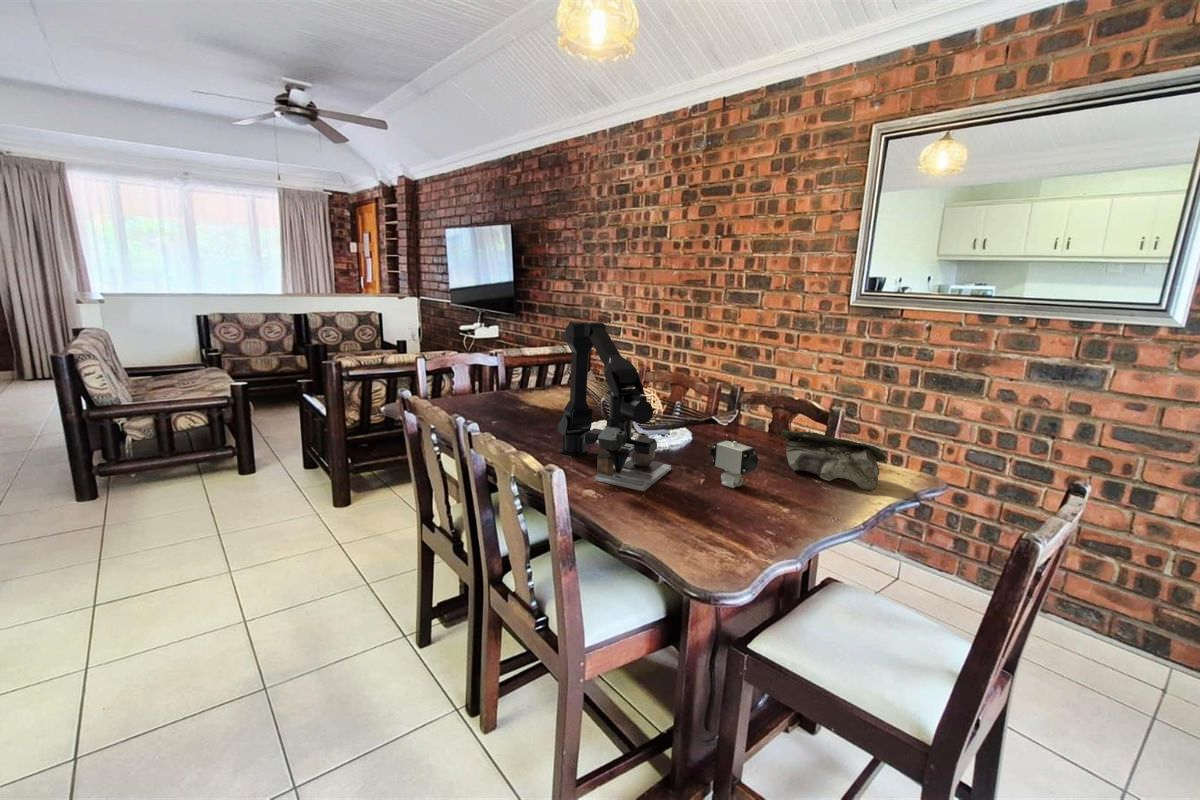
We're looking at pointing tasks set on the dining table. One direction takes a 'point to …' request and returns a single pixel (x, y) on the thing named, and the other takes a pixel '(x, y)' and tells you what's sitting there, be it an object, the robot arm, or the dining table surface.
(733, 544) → the dining table surface
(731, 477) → the pneumatic valve
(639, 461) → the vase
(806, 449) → the hollow geode rock
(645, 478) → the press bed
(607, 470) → the brown block
